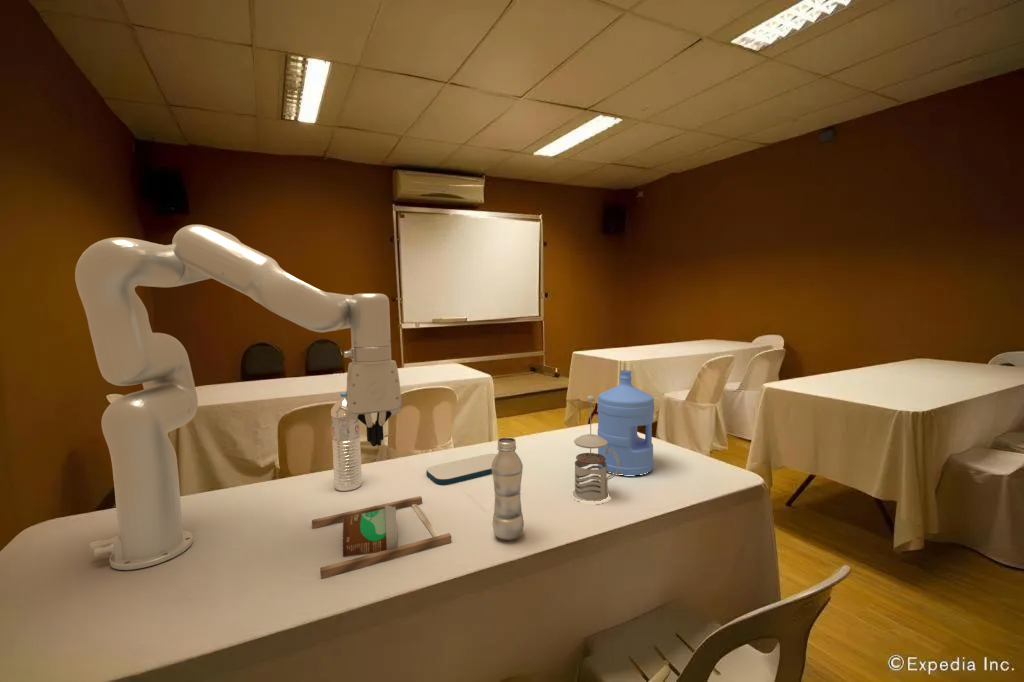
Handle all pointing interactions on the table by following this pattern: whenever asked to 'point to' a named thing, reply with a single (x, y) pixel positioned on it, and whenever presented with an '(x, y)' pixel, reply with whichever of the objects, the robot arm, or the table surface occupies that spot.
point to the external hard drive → (461, 470)
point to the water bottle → (345, 448)
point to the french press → (593, 488)
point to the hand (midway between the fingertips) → (375, 444)
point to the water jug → (626, 427)
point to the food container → (370, 532)
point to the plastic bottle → (507, 491)
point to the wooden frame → (385, 554)
